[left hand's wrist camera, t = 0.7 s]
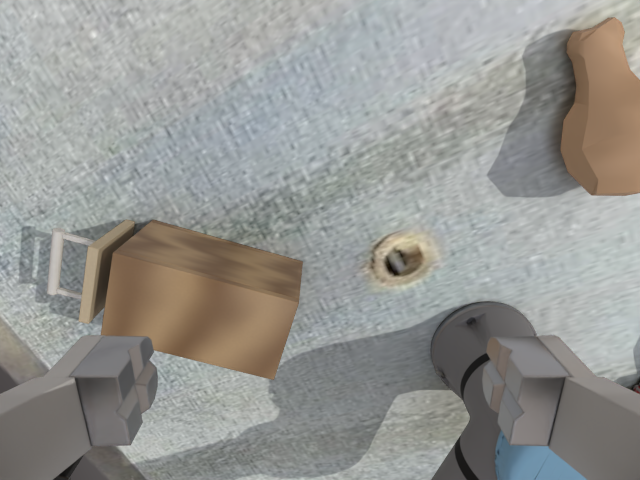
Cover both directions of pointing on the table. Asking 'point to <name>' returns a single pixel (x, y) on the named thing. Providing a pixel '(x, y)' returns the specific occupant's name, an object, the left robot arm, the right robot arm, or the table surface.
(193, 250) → the cabinet
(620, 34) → the squash
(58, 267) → the drawer
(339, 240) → the table surface
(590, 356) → the table surface
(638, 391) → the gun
